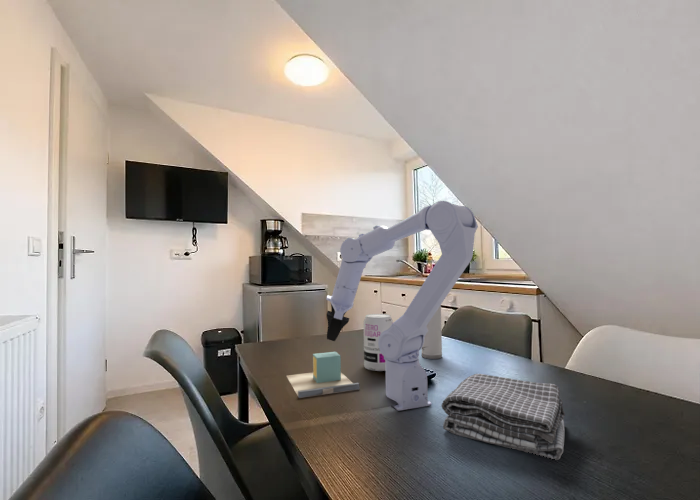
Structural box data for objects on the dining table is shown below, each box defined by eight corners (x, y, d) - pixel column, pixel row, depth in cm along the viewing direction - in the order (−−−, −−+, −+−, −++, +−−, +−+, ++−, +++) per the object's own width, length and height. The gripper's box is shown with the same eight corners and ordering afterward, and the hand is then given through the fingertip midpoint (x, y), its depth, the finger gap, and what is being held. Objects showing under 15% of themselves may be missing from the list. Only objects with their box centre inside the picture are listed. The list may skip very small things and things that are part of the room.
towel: (466, 405, 74) (465, 367, 74) (569, 427, 63) (567, 383, 63) (440, 434, 61) (439, 389, 61) (562, 469, 51) (561, 414, 51)
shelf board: (359, 393, 80) (359, 384, 80) (299, 402, 75) (299, 392, 75) (337, 373, 95) (337, 364, 95) (286, 379, 90) (286, 370, 90)
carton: (340, 380, 86) (340, 355, 86) (317, 383, 84) (316, 357, 84) (335, 375, 90) (335, 351, 90) (313, 378, 88) (312, 353, 88)
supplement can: (393, 365, 101) (392, 313, 102) (394, 374, 93) (393, 318, 93) (365, 365, 102) (364, 313, 102) (363, 374, 94) (362, 317, 94)
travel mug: (420, 358, 108) (419, 293, 109) (422, 353, 114) (421, 292, 115) (441, 360, 106) (440, 294, 107) (442, 354, 112) (441, 292, 113)
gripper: (334, 272, 95) (321, 317, 98) (328, 289, 80) (313, 341, 83) (359, 279, 95) (345, 324, 98) (357, 298, 81) (341, 349, 83)
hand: (332, 332), depth 91 cm, fingers open, 7 cm apart
